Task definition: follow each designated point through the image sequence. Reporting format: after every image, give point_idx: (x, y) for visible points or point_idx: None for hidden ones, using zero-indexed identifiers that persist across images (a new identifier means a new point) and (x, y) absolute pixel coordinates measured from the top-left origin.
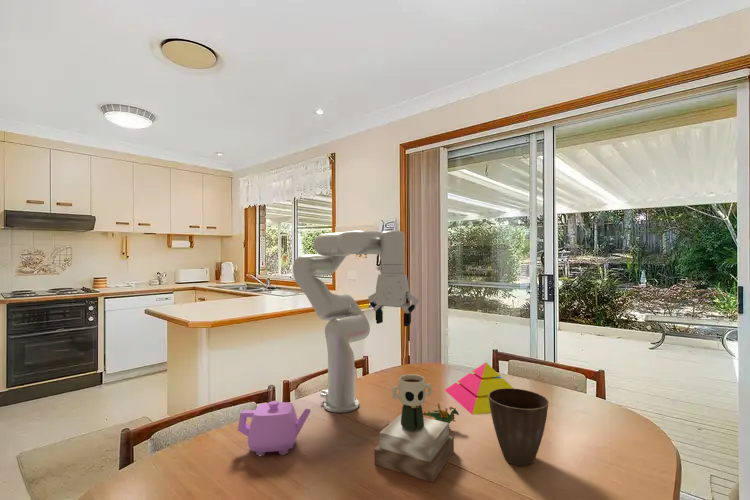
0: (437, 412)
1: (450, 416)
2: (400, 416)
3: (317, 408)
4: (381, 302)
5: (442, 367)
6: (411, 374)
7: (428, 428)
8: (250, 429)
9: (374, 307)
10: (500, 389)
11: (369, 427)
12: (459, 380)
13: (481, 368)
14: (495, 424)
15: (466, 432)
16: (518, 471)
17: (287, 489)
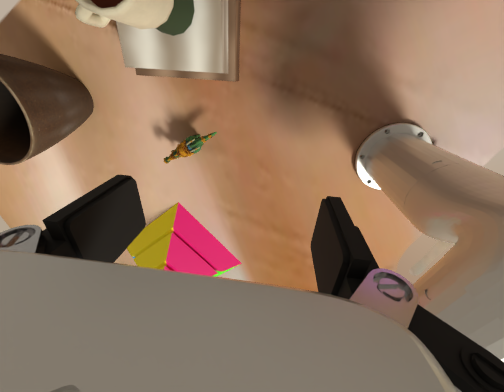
0: (188, 142)
1: (175, 151)
2: (217, 49)
3: (440, 128)
4: (293, 338)
5: None
6: (119, 4)
7: None
8: None
9: (416, 304)
10: (29, 149)
11: (306, 94)
12: (214, 273)
13: None
14: (42, 76)
15: (161, 145)
16: (58, 60)
17: None
